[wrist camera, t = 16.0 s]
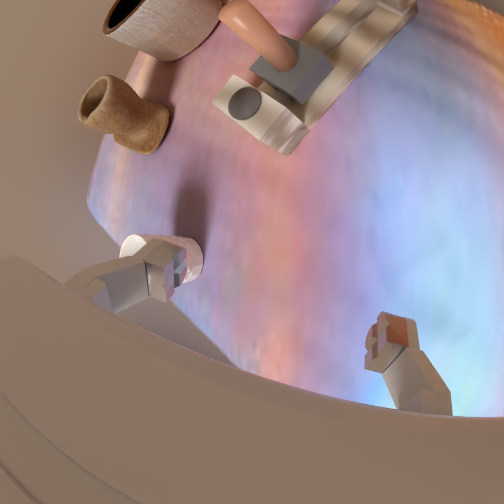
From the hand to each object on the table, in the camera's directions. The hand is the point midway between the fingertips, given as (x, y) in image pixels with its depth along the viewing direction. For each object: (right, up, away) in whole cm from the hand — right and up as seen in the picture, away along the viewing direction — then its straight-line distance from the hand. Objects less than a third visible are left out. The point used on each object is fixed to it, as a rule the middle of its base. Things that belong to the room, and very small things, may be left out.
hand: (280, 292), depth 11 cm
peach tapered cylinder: (+5, +22, +18) cm, 29 cm away
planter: (-13, +46, +30) cm, 57 cm away
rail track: (+9, +27, +17) cm, 33 cm away
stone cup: (-20, +26, +36) cm, 49 cm away
